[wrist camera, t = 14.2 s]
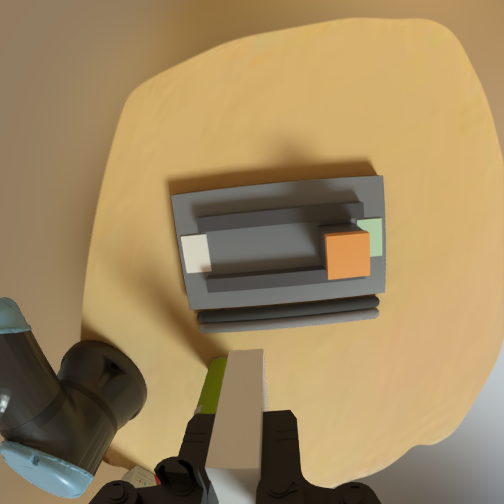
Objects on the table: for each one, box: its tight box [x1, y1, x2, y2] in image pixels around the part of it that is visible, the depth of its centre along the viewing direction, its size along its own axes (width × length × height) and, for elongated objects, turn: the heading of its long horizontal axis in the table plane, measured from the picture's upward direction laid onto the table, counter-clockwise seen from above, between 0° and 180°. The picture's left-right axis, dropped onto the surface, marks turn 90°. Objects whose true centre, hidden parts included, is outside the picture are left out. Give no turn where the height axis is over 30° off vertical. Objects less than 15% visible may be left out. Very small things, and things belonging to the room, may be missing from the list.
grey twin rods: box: [197, 296, 379, 333], centre depth 40 cm, size 23×3×1 cm, turn 96°
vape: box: [194, 357, 228, 415], centre depth 34 cm, size 4×6×20 cm, turn 52°
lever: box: [318, 223, 370, 280], centre depth 33 cm, size 4×4×6 cm
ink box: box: [122, 465, 161, 488], centre depth 48 cm, size 9×9×12 cm
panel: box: [171, 175, 386, 310], centre depth 37 cm, size 24×14×4 cm, turn 96°
